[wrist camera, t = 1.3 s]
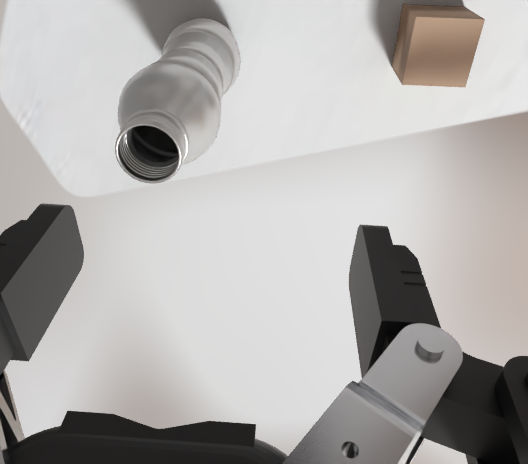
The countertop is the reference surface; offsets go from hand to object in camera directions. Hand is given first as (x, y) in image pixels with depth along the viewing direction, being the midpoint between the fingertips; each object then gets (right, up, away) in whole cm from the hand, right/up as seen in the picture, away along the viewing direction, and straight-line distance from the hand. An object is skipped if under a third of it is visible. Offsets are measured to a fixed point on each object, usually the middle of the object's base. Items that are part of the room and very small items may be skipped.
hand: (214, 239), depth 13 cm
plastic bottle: (-4, +16, +28) cm, 32 cm away
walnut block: (+15, +17, +26) cm, 35 cm away
